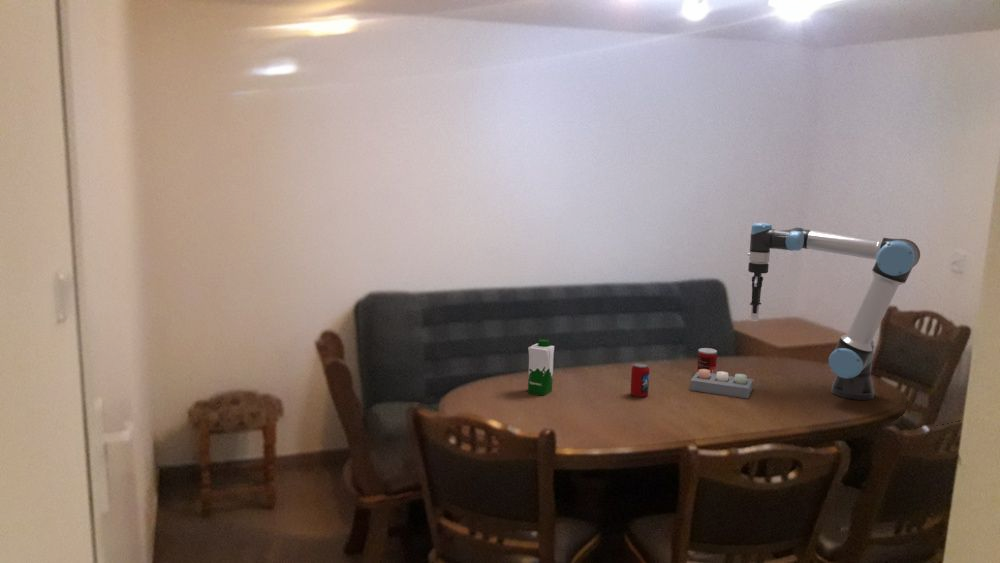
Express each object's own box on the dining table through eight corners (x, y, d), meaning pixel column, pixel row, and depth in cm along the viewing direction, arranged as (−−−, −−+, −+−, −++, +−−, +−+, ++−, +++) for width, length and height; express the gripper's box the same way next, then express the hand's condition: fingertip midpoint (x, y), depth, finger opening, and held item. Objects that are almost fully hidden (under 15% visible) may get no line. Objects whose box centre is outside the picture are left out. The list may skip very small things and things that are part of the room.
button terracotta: (710, 381, 310) (711, 369, 309) (708, 384, 306) (709, 372, 305) (699, 380, 312) (699, 368, 311) (697, 383, 308) (697, 371, 307)
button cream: (728, 384, 307) (729, 372, 306) (726, 387, 303) (727, 375, 302) (716, 382, 309) (717, 370, 308) (715, 385, 305) (715, 373, 304)
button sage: (746, 387, 304) (747, 374, 303) (745, 390, 300) (746, 377, 299) (735, 385, 306) (735, 373, 305) (733, 388, 302) (734, 375, 301)
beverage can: (648, 398, 293) (649, 367, 291) (630, 397, 294) (631, 366, 292) (648, 393, 299) (650, 363, 297) (630, 391, 301) (632, 361, 299)
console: (752, 388, 308) (753, 379, 307) (747, 398, 295) (748, 388, 295) (696, 381, 317) (697, 371, 316) (689, 390, 304) (690, 380, 304)
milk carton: (555, 390, 300) (556, 340, 296) (545, 397, 292) (547, 345, 288) (534, 387, 304) (536, 337, 300) (524, 393, 296) (525, 342, 292)
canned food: (713, 373, 329) (715, 348, 327) (717, 378, 321) (718, 353, 319) (695, 372, 329) (696, 347, 328) (698, 377, 321) (699, 352, 320)
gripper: (750, 259, 313) (746, 316, 317) (746, 263, 301) (742, 322, 305) (770, 261, 310) (765, 318, 314) (766, 265, 298) (762, 325, 302)
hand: (754, 320), depth 310 cm, fingers closed
